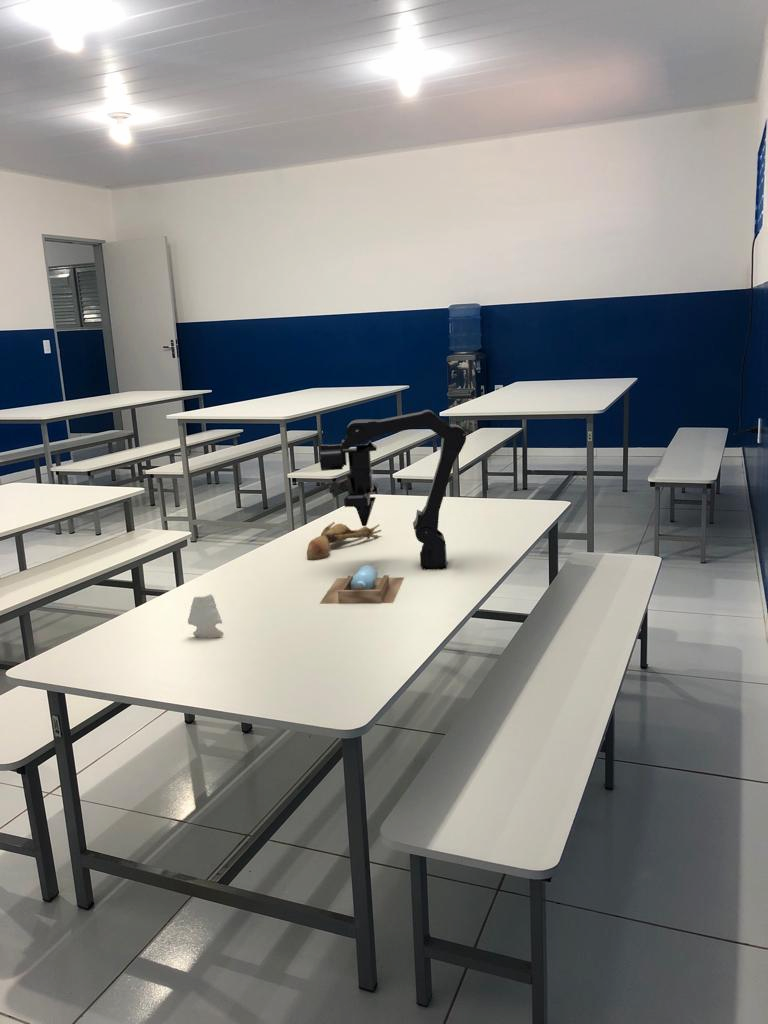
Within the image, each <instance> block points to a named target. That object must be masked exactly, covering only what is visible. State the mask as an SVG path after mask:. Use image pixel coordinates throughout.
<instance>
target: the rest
mask: <svg viewBox="0 0 768 1024" xmlns="http://www.w3.org/2000/svg"><path fill="white" fill-rule="evenodd" d="M353 578H354V576H353V575H347V577H346V578H345V577H344V578H343V577H342V578H340V577H339V578H336V579H335V581H333V583H332V584H331V586H330V588H329V589H328V590H327V592H326V593H325V595H324V596H323V597H322V599H321V601H320V602H319V604H320V605H323V604H324V605H325V604H326V605H330V604H339V605H341V604H393V603H394V602H395V601H396V597H397V595H398V593H399V591H400V589H401V586H402V584H403V582H404V580H405V576H402V577H398V576H396V577H395V576H394V577H390V576H389V574H385V575H383V576H382V577H378V578H377V581H376V582H375V584H374V586H373V587H372V589H371V590H352V588H351V581H352V579H353Z"/></svg>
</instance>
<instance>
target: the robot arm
mask: <svg viewBox="0 0 768 1024" xmlns="http://www.w3.org/2000/svg"><path fill="white" fill-rule="evenodd" d="M422 427H427V428H428V429H429V430H431V431H432V432H433V433H435V434H437V435H438V436H439V437H440V438H441V443H440V454H439V459H438V463H437V465H436V466H437V467H436V469H435V473H434V476H433V479H432V483H431V486H430V490H429V492H428V496H427V499H426V501H425V502H426V503H425V505H424V507H423V509H422V510H419V509H417V510H416V514H415V515H416V516H415V519H414V521H413V522H412V525H413V529H414V533H415V534H414V535H415V538H416V539H417V541H418V542H419V543H422V546H421V550H420V552H419V559H420V567H421V570H422V571H424V570H425V571H426V570H427V571H428V570H446V569H447V567H448V563H449V562H448V559H447V544H446V540H445V537H444V534H443V533H442V532H441V531H440V530H439V528H438V527H439V517H440V509H441V507H442V503H443V500H444V497H445V492H446V490H447V487H448V483H449V480H450V477H451V473H452V471H453V470H452V469H453V467H454V464H455V461H456V460H457V458H458V457H459V455H460V453H461V451H462V449H463V448H464V445H465V444H466V441H467V434H466V433H465V430H464V429H463V428H462V427H461V426H460V425H458V424H455V423H451V424H450V423H449V422H447V421H446V420H445V419H443V418H441V417H440V416H438V415H437V414H435V413H434V412H433V411H432V410H430V409H424V410H422V411H418V412H413V413H407V414H402V415H397V416H392V417H387V418H383V419H371V418H367V419H355V420H351V422H350V423H349V424H348V425H347V428H346V431H345V433H346V436H345V437H344V438H343V439H342V440H341V443H338V444H320V447H319V448H320V457H319V462H320V463H319V465H320V469H321V472H322V471H323V472H324V471H325V472H326V471H338V470H344V466H347V457H348V466H349V469H348V470H349V472H348V474H347V476H346V478H344V479H341V480H335V481H332V482H331V483H330V485H329V486H328V489H329V491H328V492H329V494H331V495H332V497H333V498H337V497H338V496H340V495H342V494H345V493H347V492H348V493H347V495H346V497H344V499H343V504H344V505H343V506H344V508H355V509H356V512H357V514H358V515H357V516H358V518H359V520H360V523H361V526H362V527H365V526H366V527H367V525H368V523H369V518H370V516H371V513H372V509H373V507H374V504H375V501H376V497H375V496H371V493H375V494H376V495H377V494H379V493H380V484H379V483H377V482H376V481H373V478H372V475H373V473H374V470H373V469H372V462H371V461H372V459H371V452H374V451H375V452H376V451H377V449H378V448H377V446H376V445H375V444H374V443H372V441H371V440H373V439H376V438H379V437H380V436H382V435H386V434H387V435H388V434H392V433H397V432H401V431H402V432H404V431H408V430H413V429H418V428H422ZM366 442H367V443H366ZM364 443H365V444H364ZM354 445H356V446H355V448H352V447H353V446H354ZM347 454H348V456H347Z"/></svg>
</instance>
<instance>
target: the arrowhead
mask: <svg viewBox="0 0 768 1024" xmlns="http://www.w3.org/2000/svg"><path fill="white" fill-rule="evenodd" d="M189 610H190V612H189V615H188V618H187V624H188V625H192V626H194V627H196V629H195V630H194V631H193V633H192V635H193V636H194V637H197V638H198V637H205V638H208V637H214V638H221V637H223V636H224V632H223V631H222V630H221V629H219V628H217V626H216V625H218V624H219V625H220V624H223V620H222V618H221V615H220V613H219V610H218V608H217V603H216V601H215V597H214V595H213V594H211V593H210V594H206V595H201V596H194V597H193V599H192V603H191V606H190V609H189Z"/></svg>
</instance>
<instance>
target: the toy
mask: <svg viewBox="0 0 768 1024" xmlns="http://www.w3.org/2000/svg"><path fill="white" fill-rule="evenodd" d="M380 525H381V524H377V525H375V526H373V527H371V528H370V527H368V526H367V525H366V526H362V527H361V528H359V529H355V530H352V529H351V528H349V527H348V526H347V525H346V524H343V523H337V524H336V522H335V521H332V523H330V524H329V525H327V526H326V527H324V528H323V530H322V531H321V533H320V535H319V536H317V537H315V538H312V540H310V542H309V543H308V546H307V549H306V557H307V559H308V560H320V559H325V558H326V557H327V556H329V554H330V549H331V548H330V544H334V543H339V542H343V541H346V540H348V539H361V538H364V537H365V538H367V539H370V538H376V537H377V538H379V537H378V534H379V533H380V532H382V529H377V528H378V527H380ZM376 529H377V530H376Z"/></svg>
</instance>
